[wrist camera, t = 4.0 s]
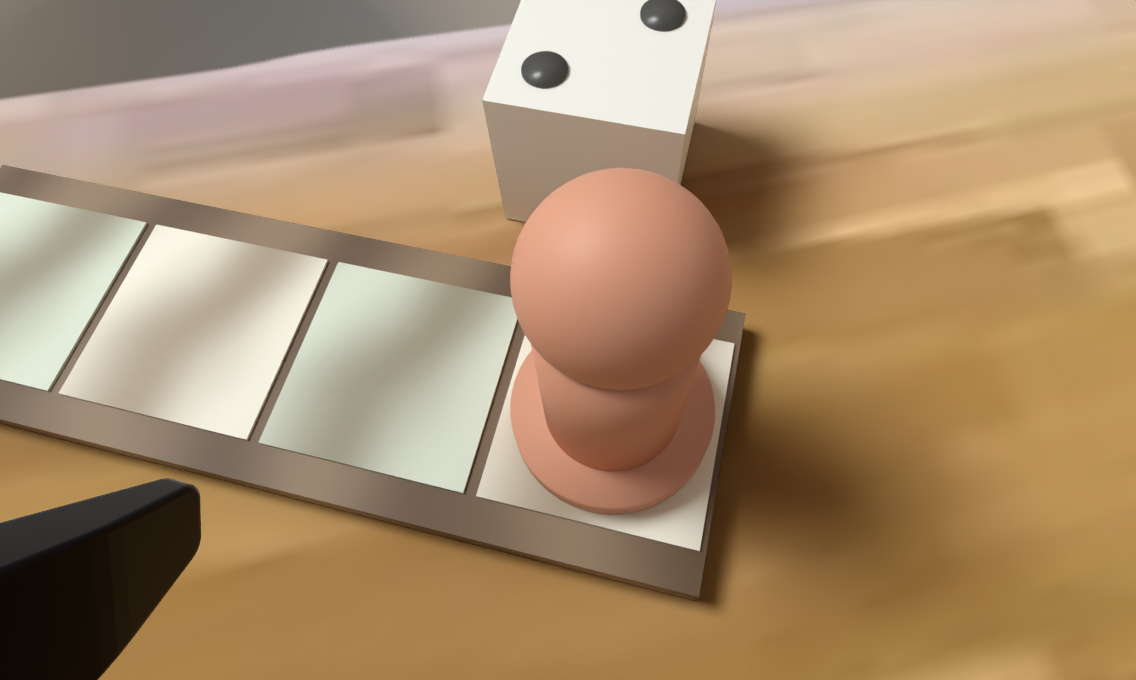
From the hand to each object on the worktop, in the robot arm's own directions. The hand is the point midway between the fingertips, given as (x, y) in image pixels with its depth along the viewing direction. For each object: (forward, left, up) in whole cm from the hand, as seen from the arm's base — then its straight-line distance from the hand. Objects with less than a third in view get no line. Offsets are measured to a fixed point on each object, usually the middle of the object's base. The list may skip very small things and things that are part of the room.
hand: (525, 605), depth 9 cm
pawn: (+3, -6, -12) cm, 13 cm away
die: (+9, -14, -13) cm, 21 cm away
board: (+12, -1, -13) cm, 18 cm away
